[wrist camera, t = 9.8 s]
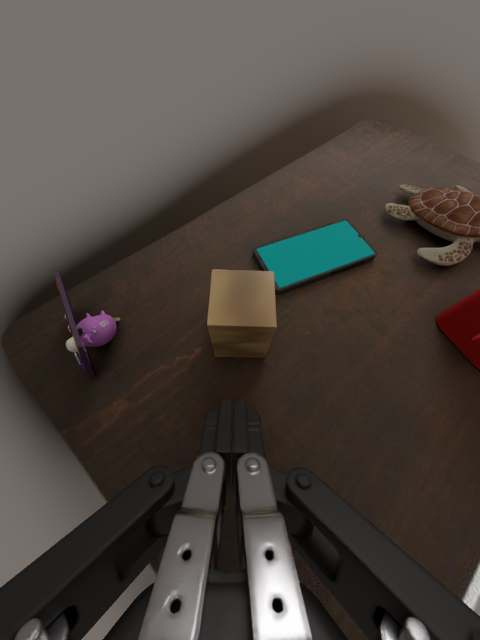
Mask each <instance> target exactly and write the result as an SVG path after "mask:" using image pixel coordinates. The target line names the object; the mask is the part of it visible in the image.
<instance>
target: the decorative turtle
mask: <svg viewBox="0 0 480 640" xmlns="http://www.w3.org/2000/svg"><path fill="white" fill-rule="evenodd" d="M400 189H401V190H402V191H404V192H406V193H409V194H412V196H411V197H410V199H409V200H408V206H406V205H399V204H393V203H389V204H386V206H385V211H386V212H387V213H388V214H389V215H390V216H392V217H394V218H396V219H399V220H415V221H416V222H417V223H418V224H419V225H420V226H422V227H423V228H425V229H426V230H428V231H429V232H431V233H433V234H435V235H437V236H439V237H441V238H443V239H446V240H448V241H451V242H453V244H451V245H449V246H446V247H442V248H419V249H418V250H417V254H418V255H419V256H420V257H422V258H424V259H426V260H428V261H430V262H432V263H435V264H438V265H446V266H449V265H453V264H457V263H459V262H461V261H462V260H464V259H465V258H466V257H467V256H468V255H469V254H470V253H471V251H472V249H473V243H474V242H480V197H479V196H478V195H476V194H474V193H473V192H471V191H469V190H467V189H465V188H464V187H461V186H459V185H457V186H456V187H455V189H451V188H425V189H423V188H420V187H416V186H412V185H409V184H404V185H401V186H400Z"/></svg>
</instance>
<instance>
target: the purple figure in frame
mask: <svg viewBox="0 0 480 640" xmlns="http://www.w3.org/2000/svg"><path fill="white" fill-rule="evenodd" d="M54 274H55V277H56V281H57V283H56V285H57V288H58V290H59V291H60V294H61V297H62V300H63V304H64V307H65V308H64V311H65V318H66V319H67V321H68V325H69V326H68V329H69V331H70V332H71V334H72V336H73V337H72V338H70V339H68V340H67V342H66V348H67V349H68V350H69V351H71V352H75V356H76V358H77V360H78V362H79V364H80V365H81V363H82V361H81V363H80V361H79V359H78V357H77V355H76V352H78V354H79V357H80V356H81V358H82V360H83V362H84V364H83V363H82V367H83V369H84V371H85V372H86V371H88V373H89V376H90V378H94V377H95V376H94V372H93V369H92V366H91V363H90V360H89V357H88V354H87V351H86V348H85V347H87V346H89V347H98V346H102V345H105V344H106V343H108V342H109V341H110V340H111V339H112V338H113V336H114V335H115V332H116V321H119V320H120V318H119V317H117V318H112V317H111V316H109V315H106V314H105V313H104V311H101V315H98V316H94V317H91V316H90V315H89V314H88V313H87V314H86V318H85V319H83V320H82V321H80V322H79V323H77V320H76V317H75V313H74V310H73V308H72V305H71V303H70V300H69V297H68V295H67V292H66V289H65V287H64V284H63V282H62V279H61V276H60V273H59V271H54ZM81 358H80V360H81Z"/></svg>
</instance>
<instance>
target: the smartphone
mask: <svg viewBox="0 0 480 640" xmlns="http://www.w3.org/2000/svg"><path fill="white" fill-rule="evenodd" d="M376 255H377V253H376V251H375V250H374V249H373V248H372V247H371V246H370V245H369V243H368V242H367V241H366V240H365V239H364V238H363V236H362V235H361V234H360V233H359V232H358V231H357V230H356V229H355V227H354V226H353V225H352V224H351V223H350V222H349V221H348V220H347V219H343V220H340V221H337V222H334V223H331V224H327V225H324V226H321V227H318V228H315V229H312V230H309V231H305V232H302V233H299V234H296V235H293V236H290V237H287V238H284V239H280V240H277V241H274V242H271V243H268V244H265V245H262V246H258V247H255V248H253V256H254V257H255V259H256V261H257V263H258V264H259V266H260V268H261V269H262V271H274V282H275V293H276V294H279V293H282V292H285V291H287V290H290V289H293V288H296V287H298V286H301V285H304V284H306V283H309V282H312V281H315V280H317V279H320V278H323V277H326V276H328V275H331V274H334V273H337V272H339V271H342V270H345V269H348V268H350V267H353V266H356V265H358V264H361V263H364V262H366V261H369V260H372V259H374V257H375V256H376Z"/></svg>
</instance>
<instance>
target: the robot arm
mask: <svg viewBox="0 0 480 640" xmlns="http://www.w3.org/2000/svg"><path fill="white" fill-rule="evenodd" d="M232 402H233V400H220V405H219V409H210V411H209V412H208V413H207V415H206V416H205V422H204V427H203V433H202V439H201V444H200V450H199V455H198V457H197V458H196V460H195V461H194V463H193V464H192V465H191V466H189V467H188V468H185V469H183V470H179V471H176V472H173V470H172V469H171V468H169V467H167V466H162V465H161V466H156V467H153V468H151V469H149V470H148V471H147V472H145V473H144V474H143V475H142V476H140V477H139V478H138V479H137V480H135V481H134V482H133V483H132V484H130V485H129V486H128V487H127V488H125V489H124V490H123V491H122V492H120V493H119V494H118V495H117V496H115V497H114V498H113V499H112V500H110V501H109V502H108V503H106V504H105V505H104V506H103V507H101V508H100V509H99V510H98V511H96V512H95V513H94V514H93V515H92V516H90V517H89V518H88V519H86V520H85V521H84V522H83V523H81V524H80V525H79V526H78V527H76V528H75V529H74V530H73V531H71V532H70V533H69V534H68V535H66V536H65V537H64V538H62V539H61V540H60V541H59V542H57V543H56V544H55V545H54V546H52V547H51V548H50V549H49V550H47V551H46V552H45V553H44V554H42V555H41V556H40V557H39V558H37V559H36V560H35V561H34V562H32V563H31V564H30V565H29V566H27V567H26V568H25V569H24V570H22V571H21V572H20V573H19V574H17V575H16V576H15V577H13V578H12V579H11V580H10V581H9V582H7V583H6V584H5V585H3V586H2V587H1V588H0V640H81V639H82V638H83V637H84V636H85V635H86V634H87V633H88V631H89V630H90V629H91V628H92V627H93V626H94V625H95V624H96V622H97V621H98V620H99V619H100V618H101V617H102V616H103V614H104V613H105V612H106V611H107V610H108V609H109V608H110V607H111V605H112V604H113V603H114V602H115V601H116V600H117V599H118V598H119V596H120V595H121V594H122V593H123V592H124V591H125V590H126V589H127V587H128V586H129V585H130V584H131V583H132V582H133V581H134V580H135V578H136V577H137V576H138V575H139V574H140V573H141V571H142V570H143V569H144V568H145V567H146V566H147V565H148V564H149V563H150V561H151V560H152V559H153V558H154V557H155V556H156V555H157V554H158V552H159V551H160V550H161V549H162V548H163V547H164V546H165V545H166V547H165V550H164V553H163V557H162V560H161V564H160V567H159V570H158V574H157V577H156V581H155V582H154V583H153V584H151V585H150V586H149V587H148V588H146V589H145V590H144V591H143V592H142V593H141V594H140V595H139V596H138V597H137V598H136V599H135V600H134V601H133V602H132V604H131V605H130V606H129V607H128V609H127V610H126V611H125V612H124V613H123V615H122V616H121V617H120V619H119V620H118V621H117V622H116V624H115V625H114V626H113V627H112V629H111V630H110V631H109V632H108V634H107V635H106V636H105V637H104V639H103V640H348V639H347V638H346V636H345V635H344V633H343V632H342V631H341V629H340V628H339V627H338V625H337V624H336V623H335V621H334V620H333V618H332V617H331V616H330V614H329V613H328V612H327V610H326V609H325V607H324V606H323V605H322V603H321V602H320V601H319V600H318V598H317V597H316V596H315V595H314V594H313V593H312V592H311V591H310V590H309V589H308V588H307V587H306V586H305V585H303V584H302V583H300V582H299V580H298V576H297V572H296V567H295V563H294V559H293V555H292V551H291V546H290V543H291V545H292V546H293V547H294V548H295V549H296V551H297V552H298V553H299V554H300V555H301V557H302V558H303V559H304V560H305V562H306V563H307V564H308V565H309V566H310V568H311V569H312V570H313V571H314V572H315V574H316V575H317V576H318V577H319V579H320V580H321V581H322V582H323V583H324V585H325V586H326V587H327V588H328V590H329V591H330V592H331V593H332V594H333V596H334V597H335V598H336V599H337V600H338V602H339V603H340V604H341V605H342V607H343V608H344V609H345V610H346V611H347V613H348V614H349V615H350V616H351V618H352V619H353V620H354V621H355V622H356V624H357V625H358V626H359V627H360V628H361V630H362V631H363V632H364V633H365V635H366V636H367V637H368V638H369V639H370V640H480V616H479V615H477V614H476V613H475V612H474V611H473V610H472V609H471V608H469V607H468V606H467V605H466V604H465V603H464V602H462V601H461V600H460V599H459V598H458V597H457V596H455V595H454V594H453V593H452V592H451V591H450V590H448V589H447V588H446V587H445V586H444V585H443V584H442V583H440V582H439V581H438V580H437V579H436V578H435V577H433V576H432V575H431V574H430V573H429V572H428V571H426V570H425V569H424V568H423V567H422V566H421V565H419V564H418V563H417V562H416V561H415V560H414V559H413V558H411V557H410V556H409V555H408V554H407V553H406V552H404V551H403V550H402V549H401V548H400V547H399V546H397V545H396V544H395V543H394V542H393V541H392V540H390V539H389V538H388V537H387V536H386V535H385V534H384V533H382V532H381V531H380V530H379V529H378V528H377V527H375V526H374V525H373V524H372V523H371V522H370V521H368V520H367V519H366V518H365V517H364V516H363V515H361V514H360V513H359V512H358V511H357V510H356V509H355V508H353V507H352V506H351V505H350V504H349V503H348V502H346V501H345V500H344V499H343V498H342V497H341V496H339V495H338V494H337V493H336V492H335V491H334V490H332V489H331V488H330V487H329V486H328V485H327V484H326V483H324V482H323V481H322V480H321V479H320V478H319V477H317V476H316V475H315V474H314V473H313V472H311V471H310V470H308V469H306V468H301V467H297V468H293V469H292V470H290V471H289V472H288V473H287V472H284V471H281V470H278V469H276V468H274V467H273V466H271V465H270V464H269V463H268V461H267V460H266V457H265V453H264V446H263V438H262V431H261V422H260V416H259V415H258V413H257V412H256V410H247V408H246V400H234V407H233V455H232V491H236V522H237V537H238V552H239V571H236V572H233V573H230V574H226V573H223V572H220V571H217V569H218V557H219V548H220V540H221V531H222V523H223V514H224V506H225V502H226V491H230V484H231V446H232Z"/></svg>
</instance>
